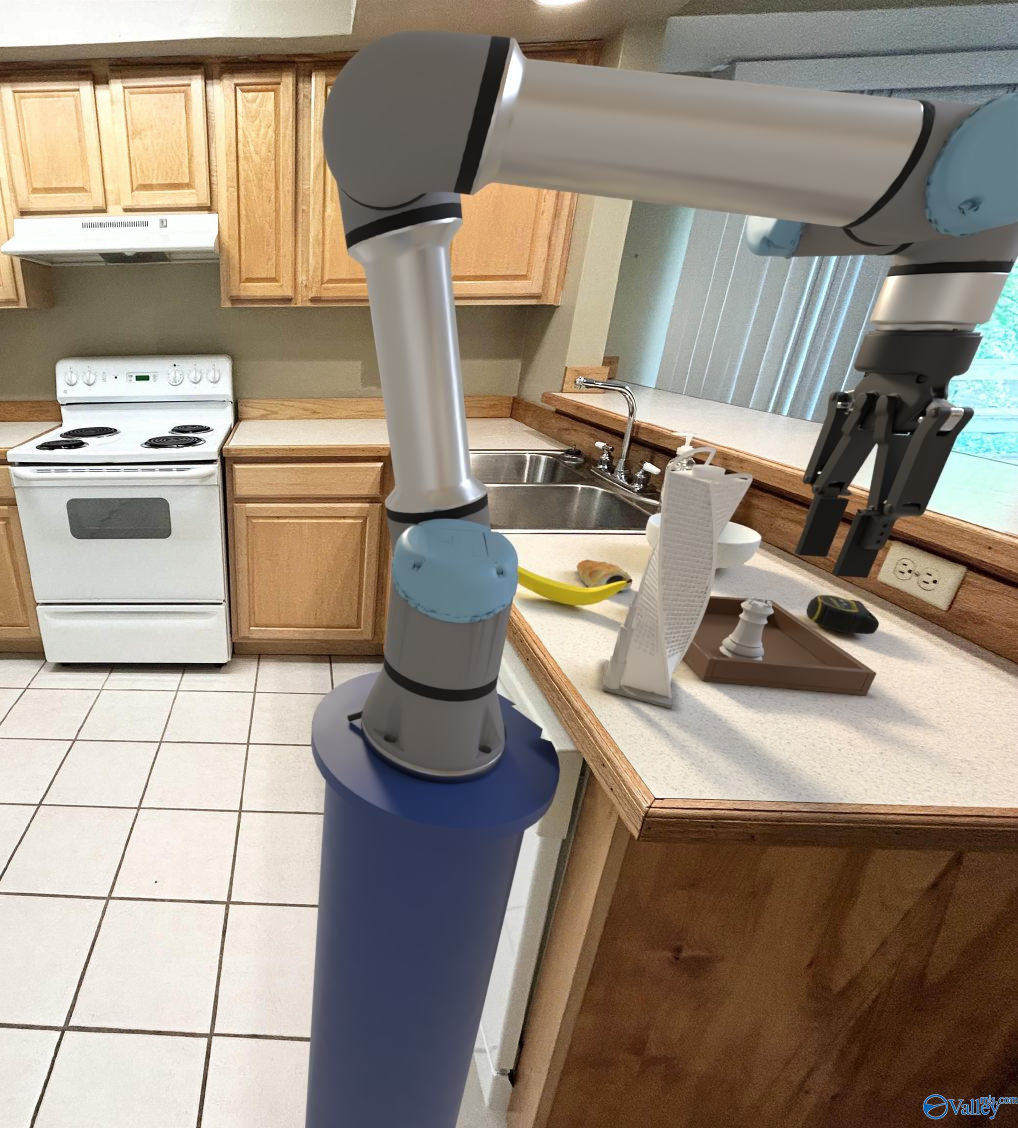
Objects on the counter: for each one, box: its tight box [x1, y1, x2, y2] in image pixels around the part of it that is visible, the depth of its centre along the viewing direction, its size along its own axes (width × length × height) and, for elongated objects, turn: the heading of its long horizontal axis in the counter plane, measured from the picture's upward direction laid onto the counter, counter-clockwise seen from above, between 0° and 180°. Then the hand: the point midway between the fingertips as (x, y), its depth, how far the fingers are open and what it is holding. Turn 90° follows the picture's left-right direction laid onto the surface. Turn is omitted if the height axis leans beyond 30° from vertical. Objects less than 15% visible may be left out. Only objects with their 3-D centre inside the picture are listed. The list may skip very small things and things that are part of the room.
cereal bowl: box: [645, 512, 762, 570], centre depth 106 cm, size 17×17×7 cm
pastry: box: [576, 559, 633, 592], centre depth 98 cm, size 9×7×4 cm
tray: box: [682, 595, 877, 696], centre depth 79 cm, size 18×20×3 cm
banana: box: [518, 565, 633, 607], centre depth 91 cm, size 3×19×6 cm, turn 52°
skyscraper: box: [601, 446, 754, 709], centre depth 66 cm, size 8×8×28 cm
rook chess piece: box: [720, 596, 774, 660], centre depth 74 cm, size 4×4×8 cm
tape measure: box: [806, 594, 880, 635], centre depth 84 cm, size 7×7×4 cm
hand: (829, 564), depth 62 cm, fingers open, 5 cm apart
